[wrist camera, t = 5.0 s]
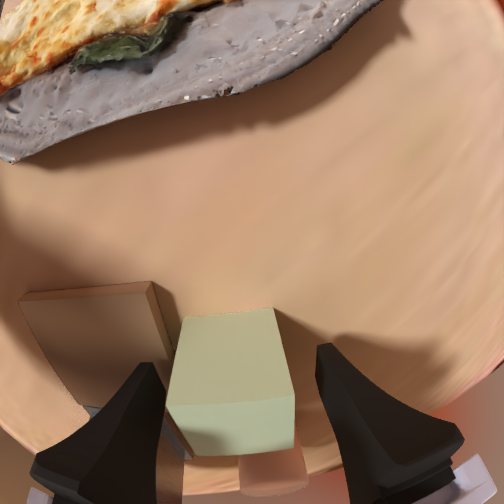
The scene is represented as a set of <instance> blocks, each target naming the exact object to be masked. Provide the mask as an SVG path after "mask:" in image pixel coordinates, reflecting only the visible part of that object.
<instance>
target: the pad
mask: <svg viewBox="0 0 504 504" xmlns="http://www.w3.org/2000/svg"><path fill="white" fill-rule="evenodd" d="M18 304H19V307H20V309H21V311H22V313H23V315H24V317H25V319H26V321H27V323H28V325H29V327H30V329H31V331H32V333H33V335H34V337H35V338H36V340H37V342H38V344H39V346H40V347H41V349H42V351H43V353H44V354H45V356H46V358H47V359H48V361H49V362H50V364H51V366H52V367H53V369H54V370H55V372H56V373H57V375H58V376H59V378H60V379H61V381H62V382H63V384H64V385H65V387H66V388H67V389H68V391H69V392H70V394H71V395H72V396H73V398H74V399H75V400H76V402H77V403H78V404H79V405H85V406H92V407H99V408H103V407H104V406H105V405H106V404H107V402H108V401H109V400H110V399H111V398H112V397H113V396H114V395H115V393H116V392H117V391H118V390H119V388H120V387H121V386H122V385H123V383H124V382H125V381H126V380H127V378H128V377H129V376H130V375H131V373H132V372H133V371H134V370H135V368H136V367H137V366H138V365H139V363H140V362H153V364H154V366H155V369H156V371H157V373H158V375H159V377H160V379H161V381H162V383H163V385H164V387H165V390H166V401H167V395H168V390H169V385H170V380H171V375H172V370H173V365H174V360H175V352H174V350H173V347H172V344H171V341H170V338H169V336H168V333H167V330H166V327H165V324H164V321H163V318H162V315H161V312H160V308H159V305H158V302H157V299H156V295H155V292H154V289H153V285H152V282H151V281H147V282H137V283H127V284H117V285H107V286H97V287H86V288H75V289H64V290H53V291H41V292H29V293H26V294H25V295H24V296H23V297H22V298H21V299H20V300H19V301H18ZM165 412H169V411H168V409H167V407H166V403H165Z"/></svg>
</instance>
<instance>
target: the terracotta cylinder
mask: <svg viewBox="0 0 504 504" xmlns="http://www.w3.org/2000/svg"><path fill="white" fill-rule="evenodd" d="M238 465H239V481H240V492H241V493H243V494H245V495H249V496H258V497H268V496H277V495H284V494H288V493H292V492H295V491H298V490H300V489H302V488H304V487H306V486H307V485H308V484H309V480H308V475H307V470H306V466H305V462H304V457H303V453H302V448H301V444H300V439H299V435H298V431H297V426H296V422H295V420H294V448H291V449H285V450H279V451H271V452H263V453H254V454H242V455H238Z"/></svg>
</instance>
